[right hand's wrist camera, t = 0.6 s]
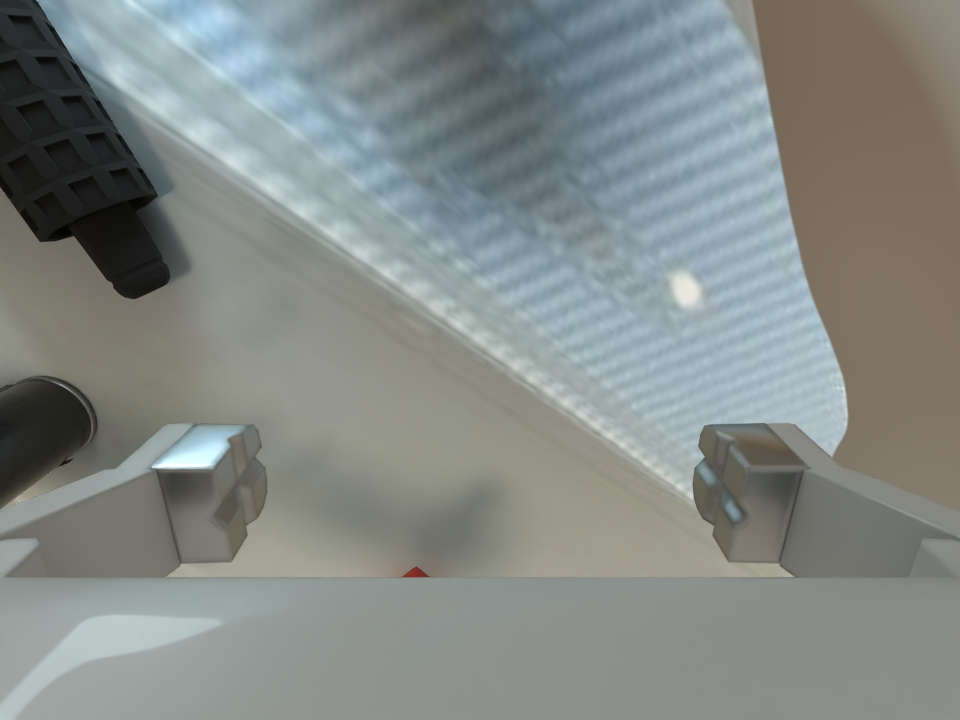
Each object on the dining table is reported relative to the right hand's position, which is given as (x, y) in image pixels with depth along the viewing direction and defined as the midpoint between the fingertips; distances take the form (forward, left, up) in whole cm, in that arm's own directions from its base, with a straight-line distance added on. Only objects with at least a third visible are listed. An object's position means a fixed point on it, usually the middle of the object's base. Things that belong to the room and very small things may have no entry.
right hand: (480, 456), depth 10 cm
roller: (-15, -36, -46) cm, 61 cm away
